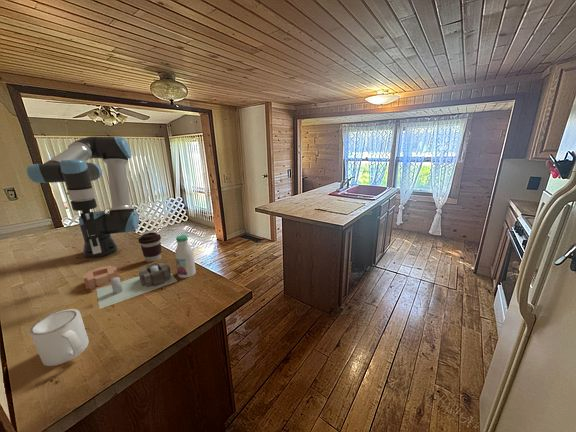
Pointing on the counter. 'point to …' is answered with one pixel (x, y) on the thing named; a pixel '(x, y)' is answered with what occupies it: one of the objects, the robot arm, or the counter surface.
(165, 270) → the gear
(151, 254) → the coffee cup
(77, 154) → the robot arm
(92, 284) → the gear
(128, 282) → the board
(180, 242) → the milk bottle
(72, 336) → the mug
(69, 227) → the counter surface
